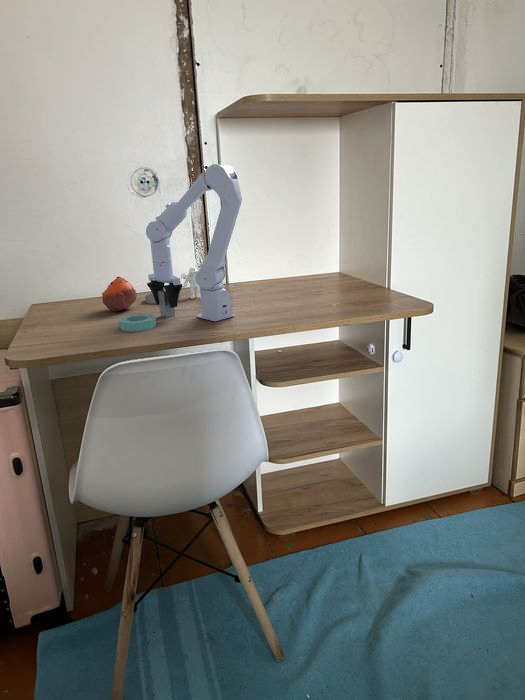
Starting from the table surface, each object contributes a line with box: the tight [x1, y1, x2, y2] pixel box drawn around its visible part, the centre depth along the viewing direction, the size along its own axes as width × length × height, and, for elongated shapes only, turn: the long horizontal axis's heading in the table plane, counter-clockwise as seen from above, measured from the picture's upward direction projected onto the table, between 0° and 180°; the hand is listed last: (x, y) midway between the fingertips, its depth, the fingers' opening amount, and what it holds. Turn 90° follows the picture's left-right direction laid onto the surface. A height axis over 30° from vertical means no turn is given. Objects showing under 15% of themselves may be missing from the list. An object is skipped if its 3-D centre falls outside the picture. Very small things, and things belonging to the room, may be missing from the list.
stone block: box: [144, 289, 181, 305], centre depth 192 cm, size 12×5×10 cm
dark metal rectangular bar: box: [158, 290, 176, 319], centre depth 167 cm, size 3×3×8 cm
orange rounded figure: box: [101, 276, 138, 312], centre depth 178 cm, size 12×10×11 cm
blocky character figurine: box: [180, 262, 202, 299], centre depth 191 cm, size 9×4×12 cm, turn 101°
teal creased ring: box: [119, 313, 157, 333], centre depth 157 cm, size 10×10×2 cm
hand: (166, 305), depth 168 cm, fingers open, 7 cm apart
